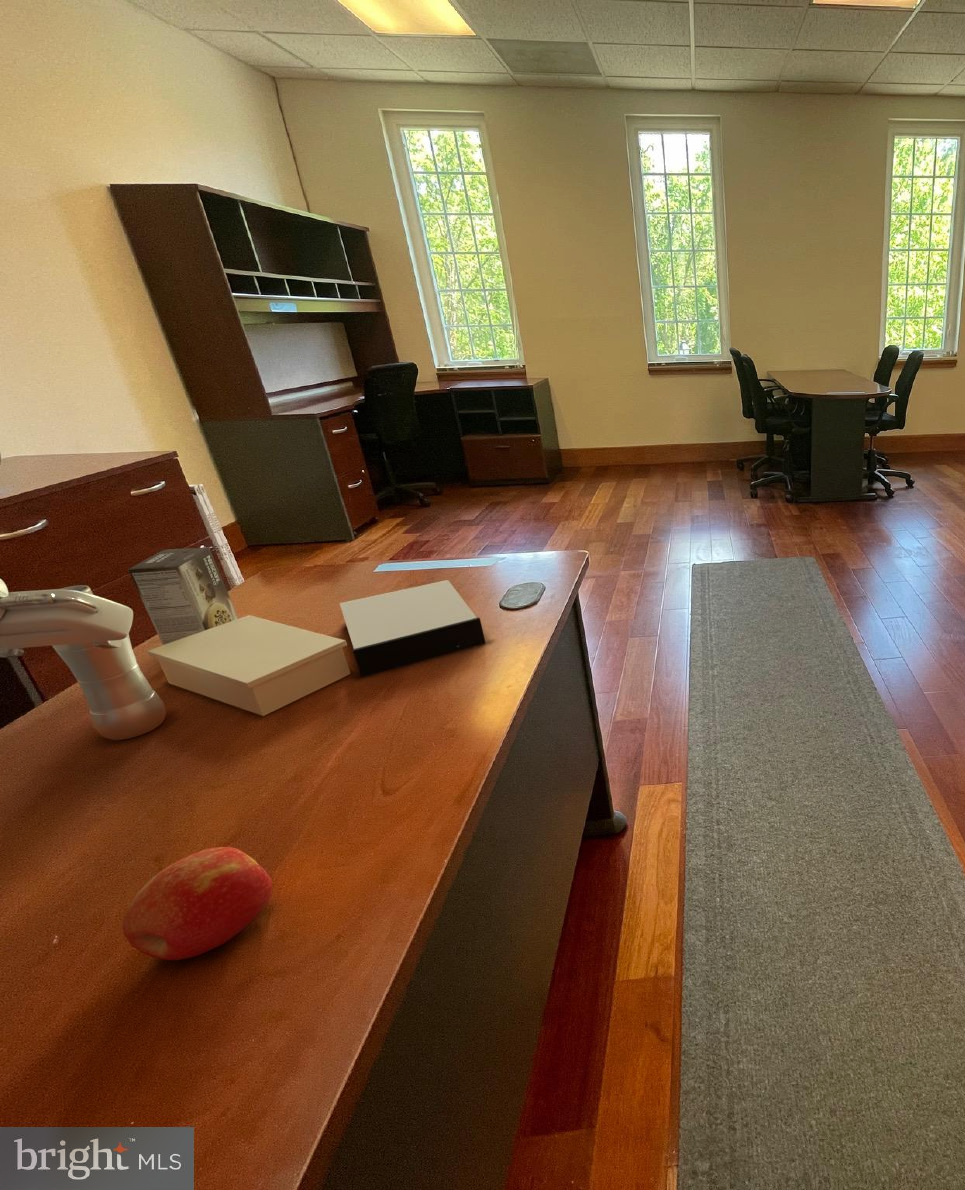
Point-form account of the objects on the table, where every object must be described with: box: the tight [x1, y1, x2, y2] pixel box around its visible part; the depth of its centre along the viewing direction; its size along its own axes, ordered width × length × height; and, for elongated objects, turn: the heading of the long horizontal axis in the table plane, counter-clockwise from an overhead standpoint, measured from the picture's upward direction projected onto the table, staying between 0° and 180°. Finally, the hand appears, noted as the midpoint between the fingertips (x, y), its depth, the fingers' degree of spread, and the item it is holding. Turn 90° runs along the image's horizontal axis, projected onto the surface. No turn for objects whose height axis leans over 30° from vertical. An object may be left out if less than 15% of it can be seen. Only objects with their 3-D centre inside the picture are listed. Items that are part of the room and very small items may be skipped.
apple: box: [122, 846, 273, 961], centre depth 52 cm, size 8×8×8 cm
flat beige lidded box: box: [147, 614, 351, 717], centre depth 90 cm, size 23×13×6 cm, turn 68°
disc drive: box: [339, 579, 486, 678], centre depth 104 cm, size 18×22×5 cm
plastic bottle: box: [52, 584, 167, 741], centre depth 76 cm, size 6×7×20 cm
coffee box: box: [127, 546, 239, 645], centre depth 97 cm, size 9×6×16 cm
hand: (67, 646), depth 71 cm, fingers open, 8 cm apart
